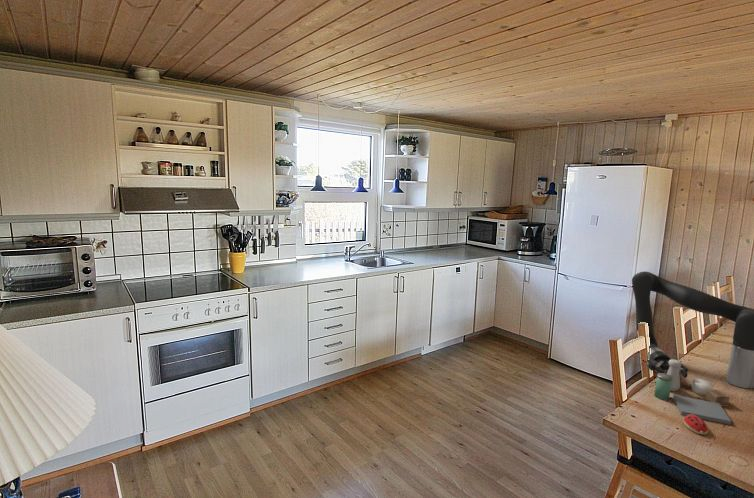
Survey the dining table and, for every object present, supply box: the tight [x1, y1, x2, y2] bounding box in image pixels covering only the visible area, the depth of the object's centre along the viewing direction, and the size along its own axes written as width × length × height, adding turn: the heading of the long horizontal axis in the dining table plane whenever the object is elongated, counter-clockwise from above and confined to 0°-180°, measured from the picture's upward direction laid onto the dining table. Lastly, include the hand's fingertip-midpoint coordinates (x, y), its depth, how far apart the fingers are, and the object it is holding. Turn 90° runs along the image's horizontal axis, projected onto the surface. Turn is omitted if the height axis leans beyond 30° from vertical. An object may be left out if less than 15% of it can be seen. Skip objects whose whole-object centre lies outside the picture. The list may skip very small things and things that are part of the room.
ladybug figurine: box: [682, 414, 709, 435], centre depth 149 cm, size 7×10×4 cm
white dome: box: [690, 378, 714, 397], centre depth 174 cm, size 7×7×4 cm
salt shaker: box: [666, 358, 682, 393], centre depth 175 cm, size 6×6×13 cm
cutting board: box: [672, 394, 732, 426], centre depth 160 cm, size 15×13×2 cm
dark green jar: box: [653, 372, 672, 401], centre depth 169 cm, size 5×5×9 cm
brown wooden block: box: [705, 389, 730, 407], centre depth 166 cm, size 5×5×4 cm
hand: (674, 374), depth 174 cm, fingers open, 8 cm apart
